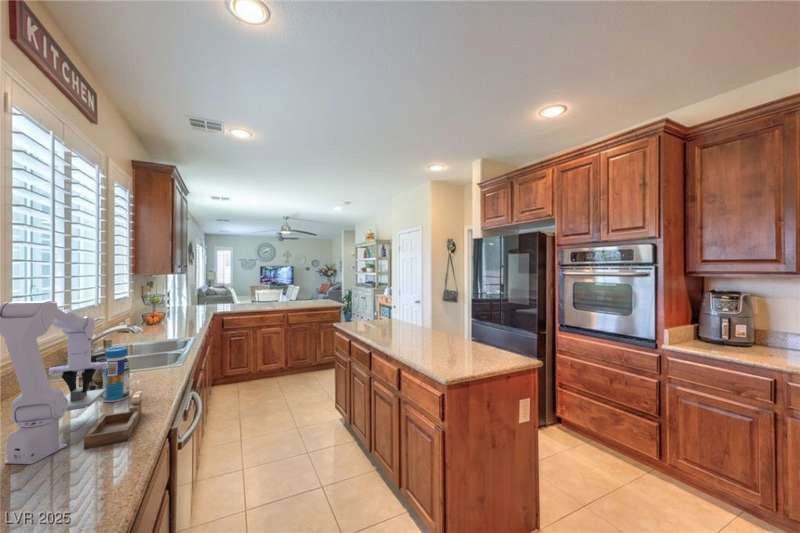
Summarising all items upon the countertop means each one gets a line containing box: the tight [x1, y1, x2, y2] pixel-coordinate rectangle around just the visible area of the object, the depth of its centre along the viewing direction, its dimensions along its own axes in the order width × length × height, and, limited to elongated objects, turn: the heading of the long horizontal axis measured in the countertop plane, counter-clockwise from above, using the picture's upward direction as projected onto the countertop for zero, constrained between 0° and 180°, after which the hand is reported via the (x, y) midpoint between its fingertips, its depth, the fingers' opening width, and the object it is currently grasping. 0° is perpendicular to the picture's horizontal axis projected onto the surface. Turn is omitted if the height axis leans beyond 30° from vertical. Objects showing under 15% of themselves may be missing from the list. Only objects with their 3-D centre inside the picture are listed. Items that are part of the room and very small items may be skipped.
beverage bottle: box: [102, 346, 131, 403], centre depth 133 cm, size 8×8×20 cm
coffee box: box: [78, 350, 108, 391], centre depth 141 cm, size 9×6×16 cm
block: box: [131, 390, 143, 405], centre depth 119 cm, size 6×2×2 cm, turn 27°
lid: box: [64, 386, 106, 412], centre depth 112 cm, size 16×10×5 cm, turn 27°
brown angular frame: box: [83, 399, 143, 450], centre depth 109 cm, size 22×10×4 cm, turn 27°
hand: (79, 392), depth 112 cm, fingers closed on lid, 2 cm apart
